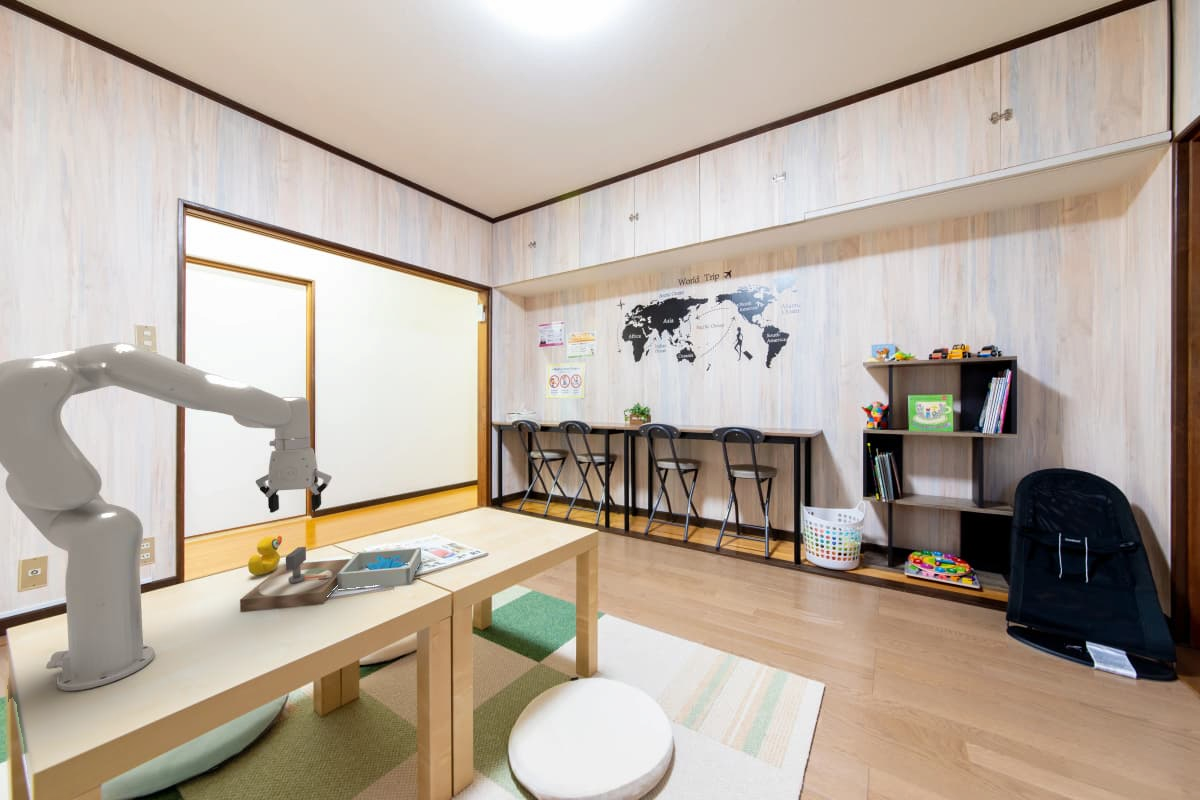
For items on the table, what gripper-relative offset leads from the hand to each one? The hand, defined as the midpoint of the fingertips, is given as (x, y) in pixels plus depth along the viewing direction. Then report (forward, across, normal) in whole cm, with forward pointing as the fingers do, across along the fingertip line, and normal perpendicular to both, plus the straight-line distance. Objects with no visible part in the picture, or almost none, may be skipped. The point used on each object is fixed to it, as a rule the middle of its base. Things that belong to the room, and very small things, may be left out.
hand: (295, 510), depth 117 cm
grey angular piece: (+18, +2, 0) cm, 19 cm away
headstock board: (+22, 0, +3) cm, 22 cm away
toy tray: (+22, +19, +7) cm, 30 cm away
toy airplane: (+22, +19, +7) cm, 30 cm away
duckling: (+22, -15, +17) cm, 32 cm away
